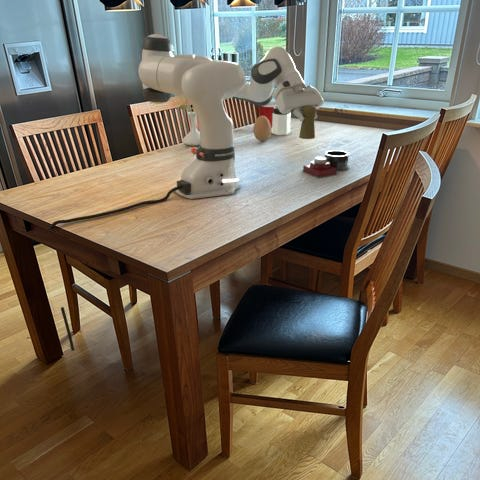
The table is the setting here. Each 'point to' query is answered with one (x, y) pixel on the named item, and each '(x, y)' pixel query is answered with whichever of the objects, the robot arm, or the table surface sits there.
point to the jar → (280, 122)
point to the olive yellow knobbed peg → (308, 123)
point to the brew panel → (319, 169)
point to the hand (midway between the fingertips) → (309, 119)
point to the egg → (262, 128)
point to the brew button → (320, 160)
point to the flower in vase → (193, 135)
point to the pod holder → (337, 159)
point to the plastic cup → (267, 111)
